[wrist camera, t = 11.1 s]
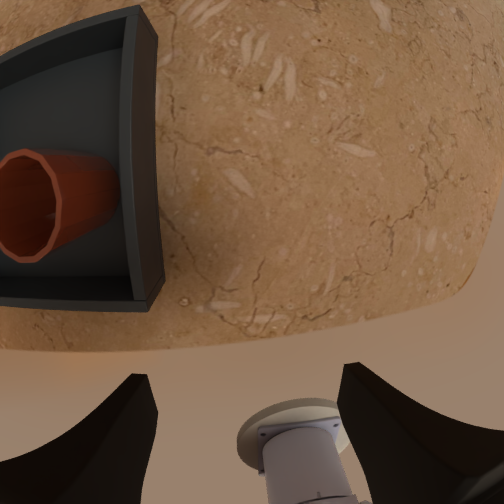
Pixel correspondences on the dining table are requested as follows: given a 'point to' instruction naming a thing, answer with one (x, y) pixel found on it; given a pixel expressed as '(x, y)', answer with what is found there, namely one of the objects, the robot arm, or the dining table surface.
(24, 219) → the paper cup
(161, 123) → the dining table surface
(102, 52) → the bin
